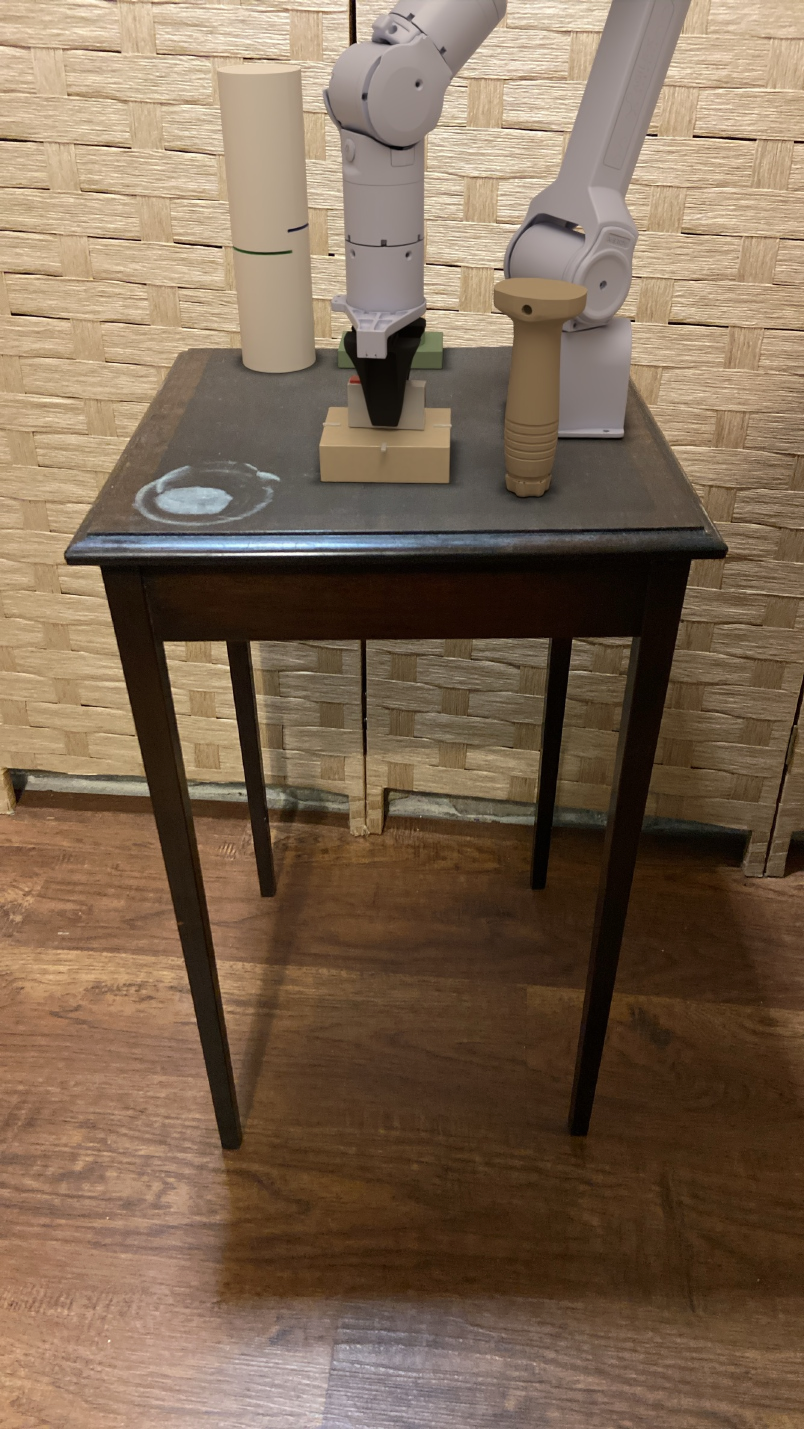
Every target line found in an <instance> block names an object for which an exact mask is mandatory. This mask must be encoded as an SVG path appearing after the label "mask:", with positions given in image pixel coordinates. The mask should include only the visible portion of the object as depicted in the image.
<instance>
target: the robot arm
mask: <svg viewBox="0 0 804 1429" xmlns="http://www.w3.org/2000/svg"><path fill="white" fill-rule="evenodd" d="M691 3H692V0H612V1H611V4H610V6H609V10H608V13H607V16H606V19H605V23H604V26H603V28H602V32H601V36H600V38H599V41H598V47H597V49H596V52H595V56H594V59H593V62H592V65H591V68H590V71H589V74H588V78H587V81H586V83H585V87H584V91H583V95H582V97H581V101H580V104H579V107H578V110H577V113H576V116H575V118H574V119H575V120H574V123H573V126H572V130H571V132H570V136H569V139H568V143H567V146H566V149H565V152H564V155H563V158H562V162H561V165H560V168H559V171H558V174H557V177H556V179H555V180H554V181H552V182H551V183H550V184H549V185H548V186H546V187H545V188H544V189H542V190H541V191H540V192H538V193H537V194H536V195H535V196H534V197H532V199H531V200H530V202H529V204H528V205H529V206H528V208H527V212H526V214H525V217H524V219H523V221H522V222H521V224H520V226H519V227H518V228H517V230H516V231H515V232H514V234H513V235H512V236H511V238H510V240H509V242H508V244H507V245H506V248H505V252H504V256H503V263H502V265H503V266H502V268H503V277H504V280H505V279H510V278H542V279H551V280H559V281H565V282H570V283H573V284H577V285H580V286H583V287H586V289H587V300H586V306H585V310H584V311H583V312H582V313H581V314H579V315H578V316H576V317H575V318H573V319H571V320H568V321H567V322H565V323H564V324H563V328H562V334H561V352H560V402H559V426H558V438H596V439H597V438H600V439H601V438H602V439H603V438H604V439H605V438H606V439H609V438H610V439H611V438H613V439H614V438H615V439H621V438H623V437H624V436H625V430H624V426H625V418H626V408H627V402H628V395H629V394H628V393H629V392H628V391H629V384H630V375H631V374H630V373H631V366H632V354H633V328H632V320H631V319H630V318H629V317H625V316H615V315H616V314H617V313H618V312H619V311H620V309H621V308H622V306H623V305H624V304H625V303H626V300H627V298H628V296H629V292H630V289H631V286H632V281H633V259H634V252H635V249H636V245H637V242H638V239H639V236H640V233H639V229H638V227H637V225H636V223H635V220H634V219H633V216H632V215H631V213H630V210H629V208H628V206H627V203H626V196H627V193H628V191H629V187H630V185H631V181H632V179H633V175H634V172H635V170H636V166H637V164H638V161H639V157H640V155H641V152H642V149H643V146H644V143H645V140H646V137H647V134H648V131H649V128H650V125H651V122H652V119H653V117H654V113H655V110H656V108H657V104H658V102H659V99H660V95H661V93H662V89H663V87H664V83H665V80H666V77H667V75H668V72H669V68H670V66H671V62H672V59H673V57H674V54H675V50H676V48H677V45H678V42H679V39H680V36H681V33H682V30H683V27H684V25H685V20H686V18H687V15H688V12H689V9H690V6H691ZM507 7H508V0H398V1H397V2H396V4H395V5H394V6H393V7H392V9H391V10H390V11H389V12H388V13H387V14H382V13H381V14H379V15H378V16H377V18H376V19H375V20H374V21H373V22H372V24H371V29H372V30H373V32H372V33H371V34H372V35H371V39H370V40H362V41H360V42H359V43H357V42H355V43H353V44H351V45H350V46H348V47H346V48H345V50H343V51H342V52H341V53H340V55H339V56H338V57H337V59H336V61H335V63H334V65H333V66H332V69H331V72H330V73H331V76H330V79H328V80H329V81H328V87H327V88H324V89H322V100H323V105H324V107H325V110H326V114H327V115H328V117H329V119H330V120H331V122H332V124H334V126H335V127H336V129H337V131H338V134H339V140H340V154H341V173H342V174H341V175H342V176H341V177H342V178H341V179H342V200H343V201H342V203H343V231H344V233H343V235H344V252H345V253H344V259H345V260H344V261H345V262H344V263H345V288H346V291H345V292H346V294H335V295H334V296H333V297H332V299H331V300H330V310H331V311H332V312H336V313H344V314H345V315H346V317H347V319H348V320H349V322H350V324H351V326H350V327H351V328H350V329H351V330H346V331H347V333H346V335H345V336H344V348H345V351H346V353H347V355H348V356H349V358H350V359H351V361H352V363H353V365H354V367H355V368H354V369H355V371H356V373H357V376H359V379H360V382H361V385H362V389H363V393H364V397H365V402H366V406H367V410H368V414H369V418H370V421H371V424H372V426H387V427H397V426H398V423H399V420H400V417H401V413H402V408H403V401H404V393H405V386H406V380H410V375H411V370H412V368H411V365H412V361H413V357H414V355H415V353H416V351H417V349H418V347H419V345H420V342H421V336H422V335H423V333H424V330H425V331H426V327H427V320H426V318H424V317H422V316H424V315H425V314H426V313H427V298H426V296H425V158H426V156H425V155H426V154H425V146H426V145H425V144H426V142H425V137H426V136H428V134H429V133H431V132H432V131H434V130H435V129H436V127H437V125H438V124H439V122H440V119H441V115H442V112H443V108H444V102H445V101H444V100H445V94H446V91H447V90H448V88H449V87H450V86H451V84H452V81H453V79H454V78H455V77H456V76H457V75H458V73H459V72H460V71H461V70H462V68H463V67H464V66H465V64H466V63H467V62H468V61H469V60H470V59H471V58H472V56H473V55H474V54H475V53H476V52H477V50H478V49H479V48H480V46H481V45H482V44H483V43H484V42H485V40H487V38H489V36H490V35H491V33H492V32H493V31H494V30H495V29H496V28H497V26H498V25H499V24H500V23H501V21H502V20H503V19H504V18H505V16H506V13H507ZM577 227H581V228H582V230H583V232H584V233H583V232H580V231H577V230H575V229H576V228H577Z"/></svg>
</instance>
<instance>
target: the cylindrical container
mask: <svg viewBox="0 0 804 1429" xmlns="http://www.w3.org/2000/svg"><path fill="white" fill-rule="evenodd" d="M216 76H217V87H218V88H217V90H218V98H219V99H218V100H219V111H220V121H221V133H222V134H221V135H222V144H223V156H224V166H225V168H224V169H225V176H226V177H225V179H226V188H227V189H226V190H227V202H228V213H229V222H230V224H229V225H230V233H231V244H232V256H233V258H232V259H233V267H234V281H235V290H236V301H237V302H236V303H237V313H238V325H239V335H240V336H239V337H240V344H241V346H240V347H241V355H242V356H241V357H242V365H243V366H244V367H245V368H247V369H250V370H252V371H255V372H260V373H268V374H269V373H270V374H280V373H283V374H284V373H292V372H297V371H301V370H305V369H307V368H310V367H311V366H313V365H314V364H315V363H316V361H317V360H316V358H317V357H316V340H315V339H316V338H315V320H314V318H315V317H314V296H313V280H312V279H313V278H312V276H313V275H312V260H311V259H312V258H311V240H310V239H311V238H310V224H309V220H310V219H309V203H308V200H309V199H308V198H309V197H308V181H307V161H306V158H307V157H306V140H305V122H304V104H303V102H304V101H303V82H302V68H301V66H298V65H294V64H285V63H242V64H241V63H240V64H233V65H226V66H221V67H218V68H216Z"/></svg>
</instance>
